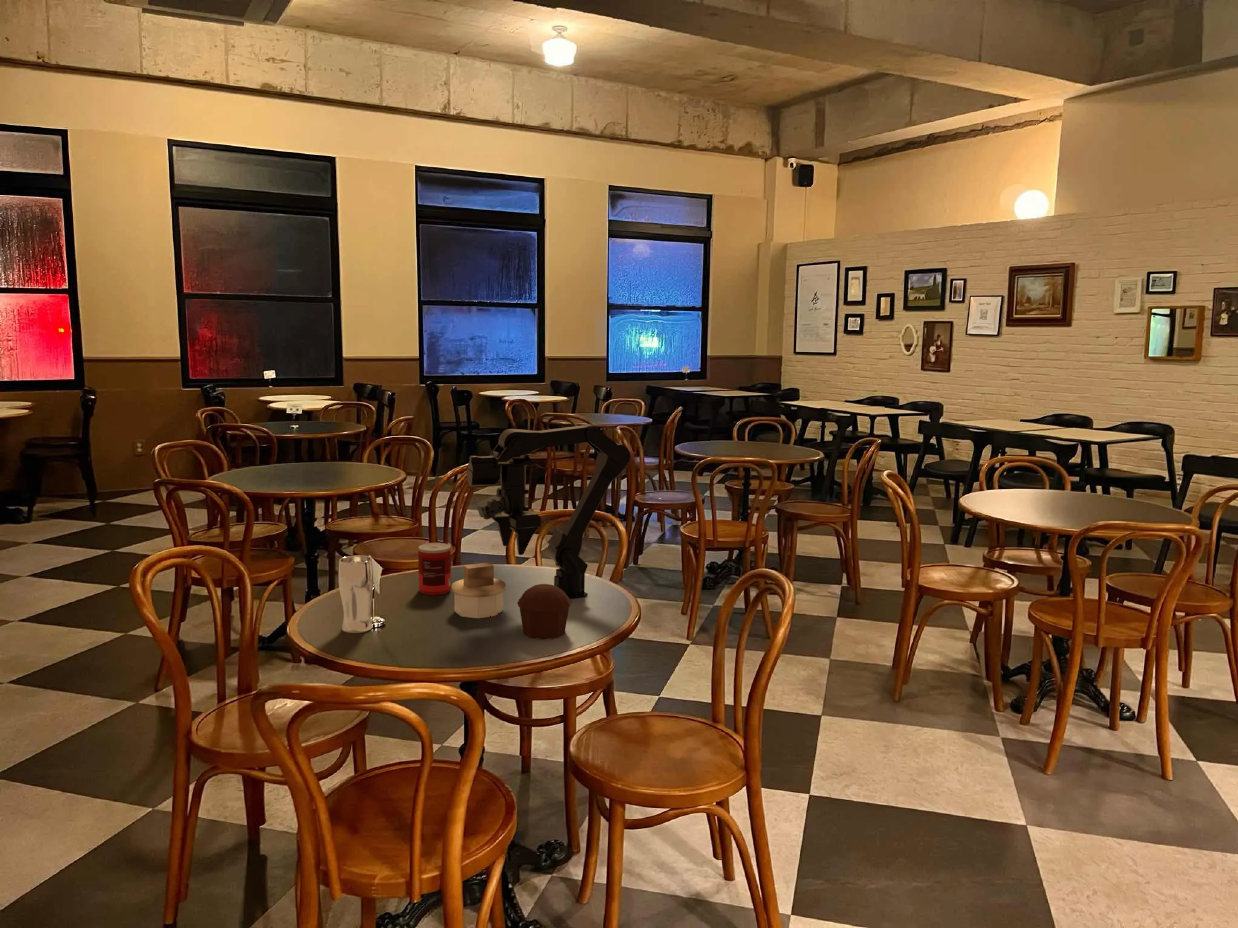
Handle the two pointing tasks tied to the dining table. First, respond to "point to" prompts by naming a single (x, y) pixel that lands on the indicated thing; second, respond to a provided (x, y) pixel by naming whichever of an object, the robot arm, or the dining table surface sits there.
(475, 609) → the hollow octagonal cup
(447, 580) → the canned food
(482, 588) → the lid
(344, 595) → the beer glass
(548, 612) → the muffin
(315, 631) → the dining table surface
